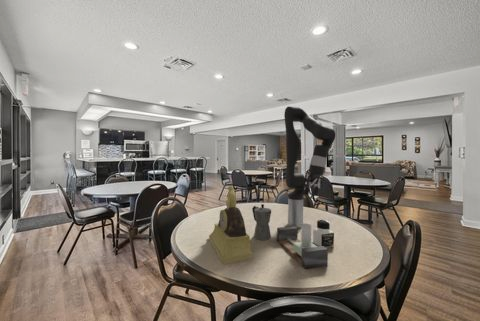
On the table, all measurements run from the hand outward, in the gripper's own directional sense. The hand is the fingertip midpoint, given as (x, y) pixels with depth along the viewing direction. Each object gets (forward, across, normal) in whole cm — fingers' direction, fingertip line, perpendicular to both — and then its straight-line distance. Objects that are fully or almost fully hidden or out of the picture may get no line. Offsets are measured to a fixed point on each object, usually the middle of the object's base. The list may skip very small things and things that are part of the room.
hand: (310, 194), depth 113 cm
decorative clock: (+32, +36, -14) cm, 50 cm away
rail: (+25, +14, +9) cm, 29 cm away
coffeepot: (+29, +14, -15) cm, 35 cm away
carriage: (+22, +16, +14) cm, 31 cm away
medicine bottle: (+22, -3, +11) cm, 25 cm away
